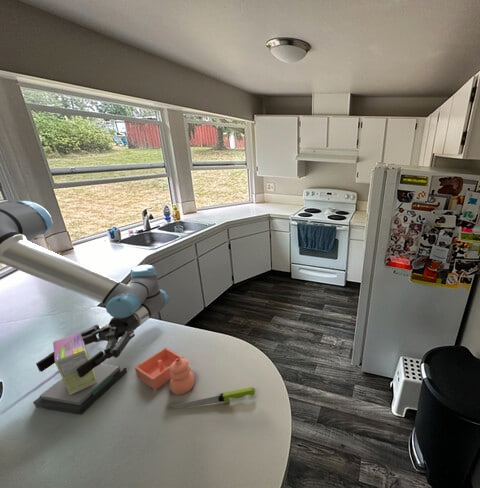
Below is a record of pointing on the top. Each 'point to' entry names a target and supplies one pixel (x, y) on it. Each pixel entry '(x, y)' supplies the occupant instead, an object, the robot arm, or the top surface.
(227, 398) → the kitchen knife
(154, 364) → the pottery
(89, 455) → the top surface
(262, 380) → the top surface
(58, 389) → the scale
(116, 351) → the robot arm
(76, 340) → the box
